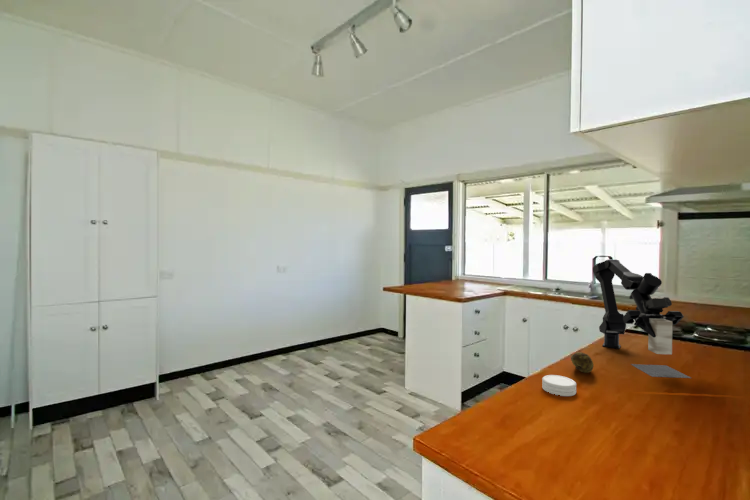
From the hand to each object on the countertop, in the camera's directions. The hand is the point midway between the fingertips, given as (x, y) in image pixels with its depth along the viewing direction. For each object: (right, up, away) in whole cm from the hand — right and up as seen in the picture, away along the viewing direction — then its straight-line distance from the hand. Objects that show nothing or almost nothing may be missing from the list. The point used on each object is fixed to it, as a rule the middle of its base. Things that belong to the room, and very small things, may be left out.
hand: (662, 337), depth 132 cm
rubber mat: (0, -13, +2) cm, 14 cm away
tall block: (0, -6, +1) cm, 6 cm away
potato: (-28, -14, +2) cm, 32 cm away
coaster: (-45, -14, -14) cm, 49 cm away
